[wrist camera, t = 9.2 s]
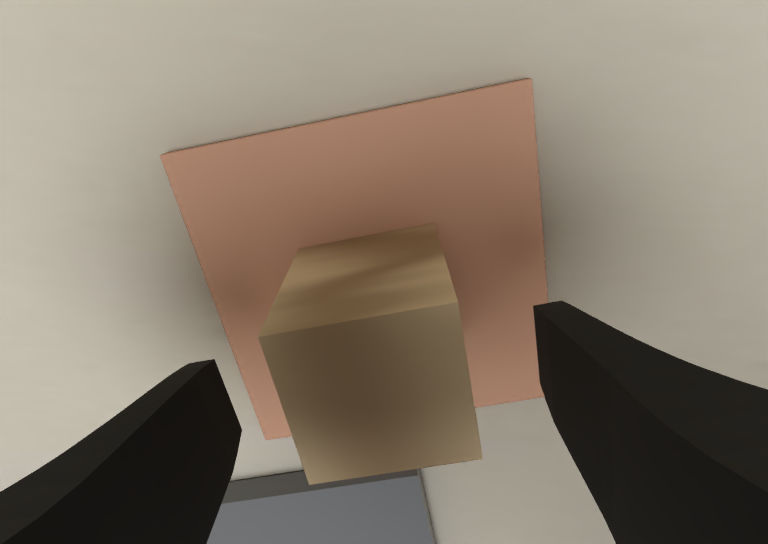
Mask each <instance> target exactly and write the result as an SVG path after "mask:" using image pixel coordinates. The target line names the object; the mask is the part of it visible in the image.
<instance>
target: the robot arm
mask: <svg viewBox="0 0 768 544" xmlns="http://www.w3.org/2000/svg"><path fill="white" fill-rule="evenodd" d="M533 311H534V322H535V334H536V345H537V356H538V368H539V379H540V385H541V388H542V391H543V394H544V396H545V399H546V402H547V405H548V407H549V410H550V413H551V415H552V418H553V420H554V423H555V425H556V427H557V429H558V431H559V433H560V435H561V437H562V439H563V441H564V443H565V444H566V446H567V448H568V450H569V452H570V454H571V456H572V458H573V460H574V462H575V463H576V465H577V467H578V469H579V471H580V473H581V475H582V477H583V479H584V480H585V482H586V484H587V486H588V488H589V490H590V492H591V494H592V496H593V497H594V499H595V501H596V503H597V505H598V507H599V509H600V511H601V513H602V514H603V517H604V519H605V521H606V523H607V525H608V527H609V529H610V531H611V533H612V535H613V538H614V540H615V542H616V544H768V390H767V389H764V388H761V387H757V386H754V385H751V384H748V383H745V382H741V381H738V380H735V379H733V378H730V377H727V376H724V375H721V374H719V373H716V372H713V371H710V370H707V369H704V368H702V367H699V366H696V365H694V364H691V363H689V362H686V361H684V360H681V359H679V358H677V357H674V356H672V355H670V354H667V353H665V352H663V351H661V350H658V349H656V348H654V347H652V346H649V345H647V344H645V343H643V342H641V341H639V340H637V339H635V338H633V337H631V336H629V335H627V334H625V333H623V332H621V331H619V330H617V329H615V328H613V327H611V326H609V325H607V324H605V323H603V322H602V321H600V320H598V319H596V318H594V317H592V316H590V315H589V314H587V313H585V312H583V311H581V310H579V309H577V308H576V307H574V306H572V305H570V304H568V303H566V302H563V301H557V302H551V303H545V304H540V305H534V306H533ZM241 432H242V429H241V426H240V424H239V421H238V419H237V416H236V413H235V411H234V408H233V406H232V403H231V400H230V398H229V395H228V393H227V390H226V388H225V385H224V382H223V380H222V377H221V375H220V372H219V370H218V367H217V364H216V362H215V359H213V360H207V361H201V362H195V363H189V364H187V365H186V366H184V367H182V368H180V369H179V370H177V371H176V372H174V373H173V374H171V375H170V376H169V377H167V378H166V379H164V380H163V381H162V382H160V383H159V384H157V385H156V386H155V387H153V388H152V389H151V390H149V391H148V392H147V393H145V394H144V395H143V396H141V397H140V398H139V399H137V400H136V401H135V402H133V403H132V404H131V405H129V406H128V407H127V408H125V409H124V410H123V411H121V412H120V413H119V414H117V415H116V416H115V417H113V418H112V419H111V420H109V421H108V422H106V423H105V424H104V425H102V426H101V427H99V428H98V429H96V430H95V431H94V432H92V433H91V434H89V435H88V436H87V437H85V438H84V439H82V440H81V441H79V442H78V443H77V444H75V445H74V446H72V447H71V448H70V449H68V450H67V451H65V452H64V453H62V454H61V455H59V456H58V457H56V458H55V459H53V460H52V461H50V462H49V463H47V464H45V465H44V466H42V467H41V468H39V469H38V470H36V471H34V472H33V473H31V474H29V475H28V476H26V477H24V478H23V479H21V480H20V481H18V482H16V483H15V484H13V485H11V486H10V487H8V488H6V489H5V490H3V491H1V492H0V544H207V541H208V539H209V536H210V533H211V530H212V528H213V525H214V522H215V520H216V517H217V514H218V512H219V509H220V506H221V504H222V501H223V498H224V495H225V493H226V490H227V487H228V484H229V482H230V479H231V476H232V473H233V470H234V465H235V461H236V457H237V452H238V447H239V442H240V437H241Z"/></svg>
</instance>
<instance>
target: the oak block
mask: <svg viewBox="0 0 768 544" xmlns="http://www.w3.org/2000/svg"><path fill="white" fill-rule="evenodd" d="M258 339H259V342H260V345H261V347H262V350H263V353H264V356H265V359H266V362H267V365H268V368H269V371H270V373H271V376H272V379H273V382H274V385H275V388H276V391H277V394H278V396H279V399H280V402H281V405H282V408H283V411H284V414H285V417H286V419H287V422H288V425H289V428H290V431H291V434H292V437H293V440H294V443H295V445H296V448H297V451H298V454H299V457H300V460H301V463H302V466H303V468H304V471H305V474H306V477H307V480H308V483H309V485H312V484H318V483H325V482H332V481H339V480H345V479H352V478H359V477H365V476H372V475H379V474H385V473H392V472H399V471H406V470H412V469H419V468H426V467H432V466H439V465H446V464H452V463H459V462H466V461H473V460H479V459H483V457H482V451H481V445H480V438H479V432H478V425H477V419H476V413H475V406H474V400H473V394H472V387H471V381H470V374H469V368H468V362H467V355H466V349H465V343H464V336H463V330H462V323H461V317H460V311H459V304H458V300H457V296H456V293H455V290H454V286H453V283H452V280H451V277H450V273H449V270H448V267H447V263H446V260H445V257H444V253H443V250H442V247H441V243H440V240H439V237H438V233H437V230H436V227H435V223H430V224H424V225H419V226H414V227H409V228H403V229H398V230H393V231H387V232H382V233H377V234H372V235H366V236H361V237H356V238H350V239H345V240H340V241H335V242H329V243H324V244H319V245H313V246H308V247H303V248H299V249H298V251H297V253H296V255H295V257H294V259H293V262H292V264H291V266H290V268H289V270H288V272H287V275H286V277H285V279H284V281H283V283H282V285H281V288H280V290H279V292H278V294H277V296H276V298H275V301H274V303H273V305H272V307H271V309H270V312H269V314H268V316H267V318H266V320H265V322H264V325H263V327H262V329H261V331H260V333H259V335H258Z"/></svg>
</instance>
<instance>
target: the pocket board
mask: <svg viewBox="0 0 768 544" xmlns="http://www.w3.org/2000/svg"><path fill="white" fill-rule="evenodd" d="M207 544H436V542H435V537H434V533H433V528H432V524H431V519H430V515H429V510H428V506H427V501H426V496H425V492H424V487H423V483H422V478H421V474H420V469H412V470H406V471H399V472H392V473H385V474H379V475H372V476H365V477H359V478H352V479H345V480H339V481H332V482H325V483H318V484H312V485H309V483H308V480H307V477H306V474H305V471H299V472H293V473H286V474H279V475H273V476H266V477H259V478H252V479H246V480H239V481H232V482H229V484H228V487H227V490H226V493H225V495H224V498H223V501H222V504H221V506H220V509H219V512H218V514H217V517H216V520H215V522H214V525H213V528H212V530H211V533H210V536H209V539H208V541H207Z"/></svg>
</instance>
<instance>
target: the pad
mask: <svg viewBox="0 0 768 544" xmlns="http://www.w3.org/2000/svg"><path fill="white" fill-rule="evenodd" d="M160 157H161V160H162V162H163V165H164V168H165V171H166V173H167V176H168V179H169V181H170V184H171V187H172V189H173V192H174V195H175V197H176V200H177V203H178V205H179V208H180V211H181V214H182V216H183V219H184V222H185V224H186V227H187V230H188V232H189V235H190V238H191V240H192V243H193V246H194V248H195V251H196V254H197V257H198V259H199V262H200V265H201V267H202V270H203V273H204V275H205V278H206V281H207V283H208V286H209V289H210V292H211V294H212V297H213V300H214V302H215V305H216V308H217V310H218V313H219V316H220V318H221V321H222V324H223V326H224V329H225V332H226V335H227V337H228V340H229V343H230V345H231V348H232V351H233V353H234V356H235V359H236V361H237V364H238V367H239V369H240V372H241V375H242V378H243V380H244V383H245V386H246V388H247V391H248V394H249V396H250V399H251V402H252V404H253V407H254V410H255V412H256V415H257V418H258V421H259V423H260V426H261V429H262V431H263V434H264V437H265V439H266V440H270V439H276V438H283V437H289V436H292V434H291V431H290V428H289V425H288V422H287V419H286V417H285V414H284V411H283V408H282V405H281V402H280V399H279V396H278V394H277V391H276V388H275V385H274V382H273V379H272V376H271V373H270V371H269V368H268V365H267V362H266V359H265V356H264V353H263V350H262V347H261V345H260V342H259V339H258V335H259V333H260V331H261V329H262V327H263V325H264V322H265V320H266V318H267V316H268V314H269V312H270V309H271V307H272V305H273V303H274V301H275V298H276V296H277V294H278V292H279V290H280V288H281V285H282V283H283V281H284V279H285V277H286V275H287V272H288V270H289V268H290V266H291V264H292V262H293V259H294V257H295V255H296V253H297V251H298V249H299V248H303V247H308V246H313V245H319V244H324V243H329V242H335V241H340V240H345V239H350V238H356V237H361V236H366V235H372V234H377V233H382V232H387V231H393V230H398V229H403V228H409V227H414V226H419V225H424V224H430V223H435V227H436V230H437V233H438V237H439V240H440V243H441V247H442V250H443V253H444V257H445V260H446V263H447V267H448V270H449V273H450V277H451V280H452V283H453V286H454V290H455V293H456V296H457V300H458V304H459V311H460V317H461V323H462V330H463V336H464V343H465V349H466V355H467V362H468V368H469V374H470V381H471V387H472V394H473V400H474V406H475V408H476V407H482V406H489V405H495V404H501V403H508V402H514V401H521V400H527V399H534V398H540V397H545V396H544V394H543V391H542V388H541V385H540V379H539V368H538V356H537V345H536V334H535V322H534V311H533V306H534V305H540V304H545V303H548V295H547V281H546V267H545V253H544V240H543V226H542V212H541V199H540V185H539V171H538V158H537V144H536V130H535V116H534V103H533V89H532V79H530V78H526V79H522V80H517V81H512V82H507V83H502V84H497V85H492V86H488V87H483V88H478V89H473V90H468V91H463V92H459V93H454V94H449V95H444V96H439V97H434V98H429V99H425V100H420V101H415V102H410V103H405V104H400V105H396V106H391V107H386V108H381V109H376V110H371V111H367V112H362V113H357V114H352V115H347V116H342V117H337V118H333V119H328V120H323V121H318V122H313V123H308V124H304V125H299V126H294V127H289V128H284V129H279V130H275V131H270V132H265V133H260V134H255V135H250V136H245V137H241V138H236V139H231V140H226V141H221V142H216V143H212V144H207V145H202V146H197V147H192V148H187V149H182V150H178V151H173V152H168V153H165V154H162V155H160Z"/></svg>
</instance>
